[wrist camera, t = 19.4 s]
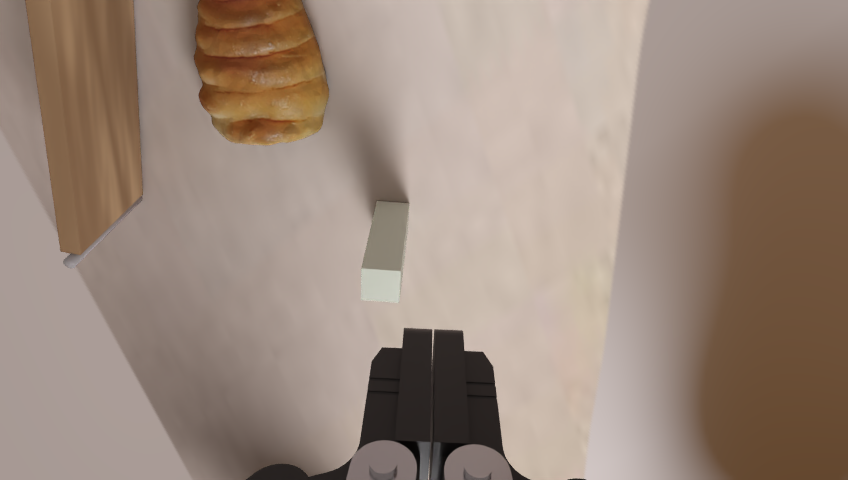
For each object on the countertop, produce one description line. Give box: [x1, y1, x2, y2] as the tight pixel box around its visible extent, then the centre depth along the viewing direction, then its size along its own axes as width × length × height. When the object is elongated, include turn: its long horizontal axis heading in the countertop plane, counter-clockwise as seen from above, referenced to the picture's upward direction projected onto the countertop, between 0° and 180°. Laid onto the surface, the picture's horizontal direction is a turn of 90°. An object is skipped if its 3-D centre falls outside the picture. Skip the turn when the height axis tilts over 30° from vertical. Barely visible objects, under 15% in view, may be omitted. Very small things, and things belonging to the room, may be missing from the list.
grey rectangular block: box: [64, 197, 409, 303], centre depth 33 cm, size 2×17×8 cm, turn 86°
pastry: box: [194, 0, 329, 145], centre depth 29 cm, size 9×7×4 cm
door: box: [25, 0, 143, 255], centre depth 29 cm, size 2×14×7 cm, turn 168°
